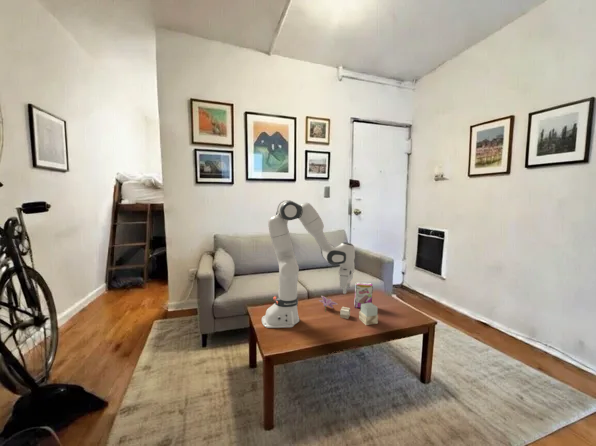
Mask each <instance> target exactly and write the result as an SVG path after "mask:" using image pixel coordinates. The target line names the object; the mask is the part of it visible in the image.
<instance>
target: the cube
mask: <svg viewBox="0 0 596 446" xmlns="http://www.w3.org/2000/svg"><path fill="white" fill-rule="evenodd" d="M339 312H340V314H339V317H340V318H341V319H342V318H343V319H346V320H349V318H350V316H351V308H350V307H345V306H342V307H341V308H340V311H339Z"/></svg>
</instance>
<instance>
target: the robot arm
mask: <svg viewBox="0 0 596 446" xmlns="http://www.w3.org/2000/svg"><path fill="white" fill-rule="evenodd" d="M297 219H298V220H299V221H300V222H301V224H302V226H303V227H304V229H305V230H306V232H308V234H309V235H311V236H312V237H313V238H314V240H315V241H316V243H317V244H318V246H319V248H320V254H321V257H322V258H323V259H324V260H325V261H326V262H327V263H329V264H330V265H332V266H337V265H339V270H338V275H339V277H338V278H339V287H340V288H341V289H342V293H343V295H346V294H347V289H350V287H351V282H352V281H353V279H354V273H355V269H356V268H355V258H356V250H355V245H354V244H352V243H350V242H343V241H342V242H341V243H340V244H339V245H337V246H334V245H332V244H331V243H330V242H329V240H328V239H327V237H326V235H325V233H324V222H323V220H322V218H321V216H320V214H319V213H318V212H317V210H316V209H315V208H314V206H313V205H312V204H311V203H310V202H303V203H301V204H298V203H297V202H295V201H292V200H287V199H286V200H282V201H280V203H279V204H278V205H277V208H276V213H275V215H272V216H271V217H270V218H269V219H268V221H267V222H268V231H269V238H270V240H271V244H272V246H273V247H272V248H273V250H274V253H275V256H276V260H277V264H278V269H279V270H278V276H279V277H278V295H277V296H273V301H274V303H273V304H272V305H271V306H269V307H268V308H267V309H266V311H265V315H263V316H262V317H261V323H262V325H263V327H265V328H266V329H280V328H284V329H285V328H293V327H294V326H295V325H297V324H298V323H299V322H300V318H299V312H298V305H299V297H298V282H299V281H298V280H299V272H300V271H299V268H300V266H299V264H298V261H297V258H296V254H295V250H294V247H293V242H292V238H291V234H290V231H289V228H288V227H289V226H288V222H289V221H294V220H297Z"/></svg>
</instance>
